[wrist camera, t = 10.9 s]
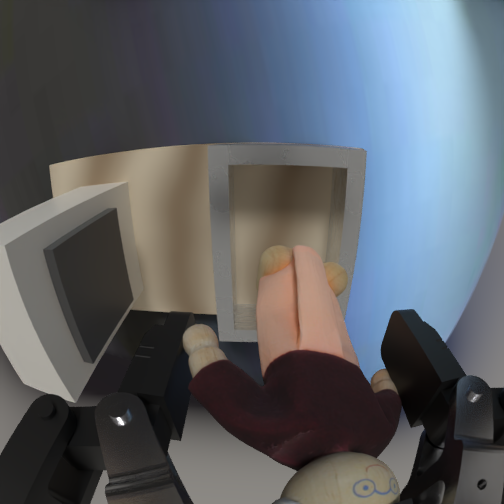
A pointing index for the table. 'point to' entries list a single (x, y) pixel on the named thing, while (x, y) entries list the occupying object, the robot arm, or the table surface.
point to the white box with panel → (67, 285)
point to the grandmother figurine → (303, 386)
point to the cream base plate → (204, 218)
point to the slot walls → (223, 218)
